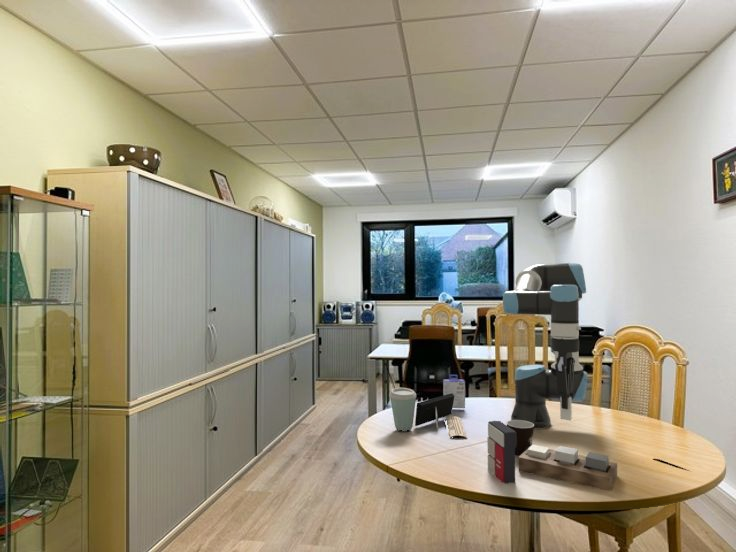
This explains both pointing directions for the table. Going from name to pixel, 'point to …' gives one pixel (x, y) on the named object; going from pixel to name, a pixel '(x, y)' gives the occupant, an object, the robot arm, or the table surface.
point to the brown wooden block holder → (569, 471)
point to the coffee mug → (522, 434)
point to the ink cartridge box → (455, 390)
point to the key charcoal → (597, 461)
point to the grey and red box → (501, 451)
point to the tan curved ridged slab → (455, 426)
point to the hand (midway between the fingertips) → (566, 419)
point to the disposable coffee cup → (403, 407)
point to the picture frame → (434, 409)
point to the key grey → (566, 455)
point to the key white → (538, 451)
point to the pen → (669, 464)
